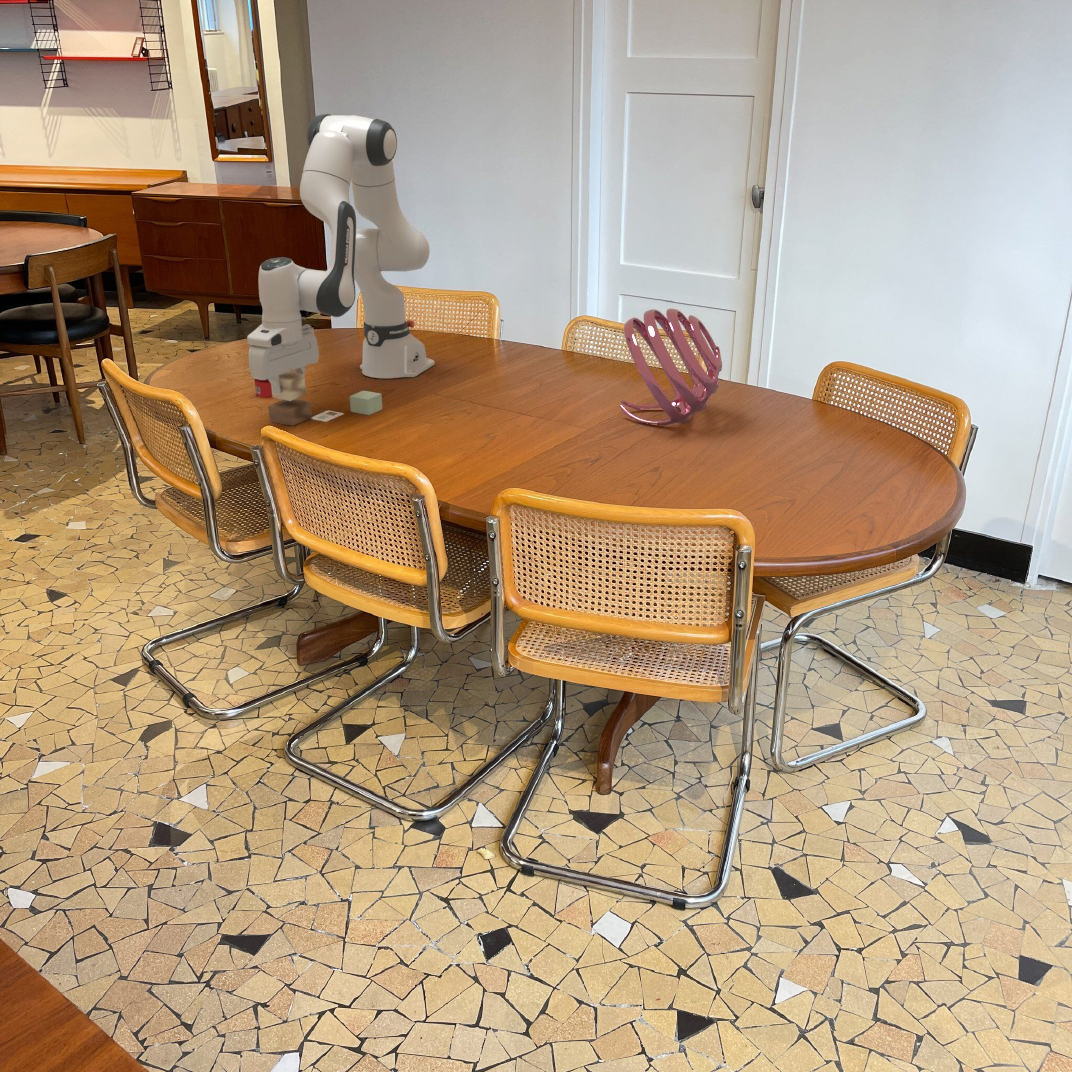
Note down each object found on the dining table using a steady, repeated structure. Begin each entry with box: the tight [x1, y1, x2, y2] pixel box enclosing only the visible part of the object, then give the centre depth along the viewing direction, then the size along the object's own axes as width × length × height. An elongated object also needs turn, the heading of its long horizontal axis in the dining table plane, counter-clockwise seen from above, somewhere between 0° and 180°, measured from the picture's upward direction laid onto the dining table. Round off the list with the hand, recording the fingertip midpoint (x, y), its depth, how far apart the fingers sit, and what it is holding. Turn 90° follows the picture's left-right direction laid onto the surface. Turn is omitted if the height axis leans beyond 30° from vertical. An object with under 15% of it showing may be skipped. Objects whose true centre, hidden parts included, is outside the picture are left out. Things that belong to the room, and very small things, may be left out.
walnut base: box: [267, 398, 313, 427], centre depth 240 cm, size 7×7×4 cm
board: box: [309, 409, 345, 423], centre depth 242 cm, size 18×18×1 cm
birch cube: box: [271, 371, 307, 401], centre depth 237 cm, size 6×6×5 cm
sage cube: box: [349, 390, 383, 416], centre depth 247 cm, size 6×6×5 cm
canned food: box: [253, 378, 273, 399], centre depth 258 cm, size 8×8×11 cm
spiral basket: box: [618, 308, 723, 426], centre depth 242 cm, size 28×28×27 cm
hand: (288, 389), depth 237 cm, fingers closed on birch cube, 5 cm apart
